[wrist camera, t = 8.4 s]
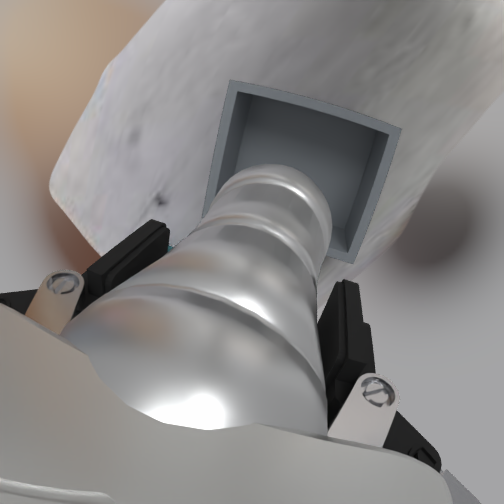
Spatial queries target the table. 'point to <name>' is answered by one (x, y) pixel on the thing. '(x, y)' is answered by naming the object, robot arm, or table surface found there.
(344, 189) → the bin
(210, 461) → the robot arm
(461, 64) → the table surface
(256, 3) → the table surface
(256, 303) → the silver aluminium bottle
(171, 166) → the table surface
